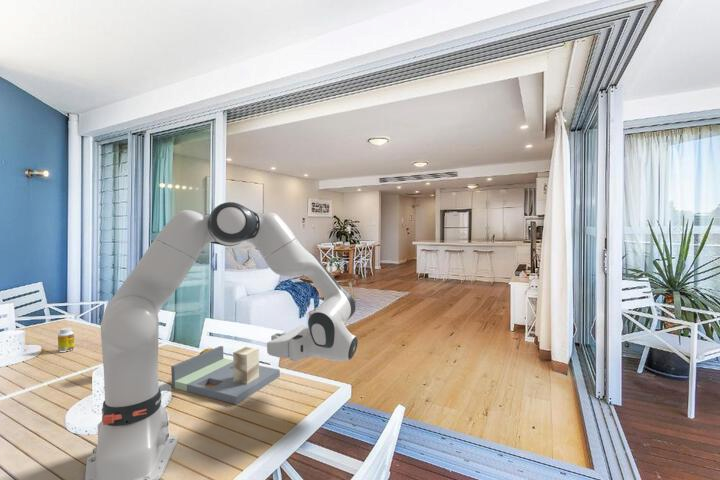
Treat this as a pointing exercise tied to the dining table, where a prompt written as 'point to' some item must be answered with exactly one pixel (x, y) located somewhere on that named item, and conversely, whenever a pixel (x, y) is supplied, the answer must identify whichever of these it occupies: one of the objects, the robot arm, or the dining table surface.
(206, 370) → the pad
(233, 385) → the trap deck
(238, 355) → the birch block
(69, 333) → the supplement bottle
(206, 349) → the bread roll
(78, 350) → the dining table surface
